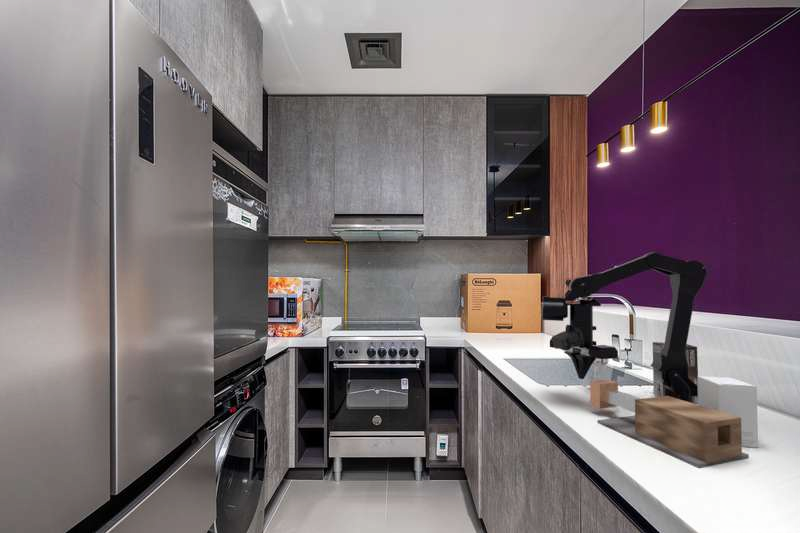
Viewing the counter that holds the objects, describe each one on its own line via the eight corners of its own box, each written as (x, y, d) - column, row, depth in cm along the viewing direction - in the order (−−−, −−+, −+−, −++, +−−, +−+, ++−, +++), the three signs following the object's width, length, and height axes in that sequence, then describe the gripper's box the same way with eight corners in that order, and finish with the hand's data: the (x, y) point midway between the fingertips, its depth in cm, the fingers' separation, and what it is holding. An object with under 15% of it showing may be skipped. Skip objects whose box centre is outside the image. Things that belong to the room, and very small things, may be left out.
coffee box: (687, 397, 108) (686, 343, 109) (699, 404, 102) (698, 346, 103) (652, 394, 110) (652, 341, 111) (662, 401, 104) (661, 344, 105)
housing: (597, 422, 87) (597, 389, 87) (640, 417, 91) (640, 385, 91) (699, 468, 66) (698, 424, 66) (748, 457, 70) (747, 416, 71)
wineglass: (583, 392, 111) (583, 353, 111) (584, 387, 117) (584, 349, 117) (608, 396, 108) (608, 355, 108) (608, 390, 114) (608, 352, 114)
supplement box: (759, 448, 74) (758, 386, 75) (718, 444, 76) (717, 383, 76) (734, 434, 82) (733, 377, 82) (696, 430, 83) (696, 374, 84)
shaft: (590, 404, 94) (590, 381, 94) (607, 402, 96) (607, 379, 96) (667, 435, 75) (666, 405, 75) (687, 432, 77) (686, 403, 77)
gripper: (534, 319, 107) (534, 372, 107) (585, 326, 90) (585, 390, 89) (564, 318, 111) (564, 370, 110) (619, 325, 93) (619, 387, 93)
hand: (581, 378), depth 100 cm, fingers closed
